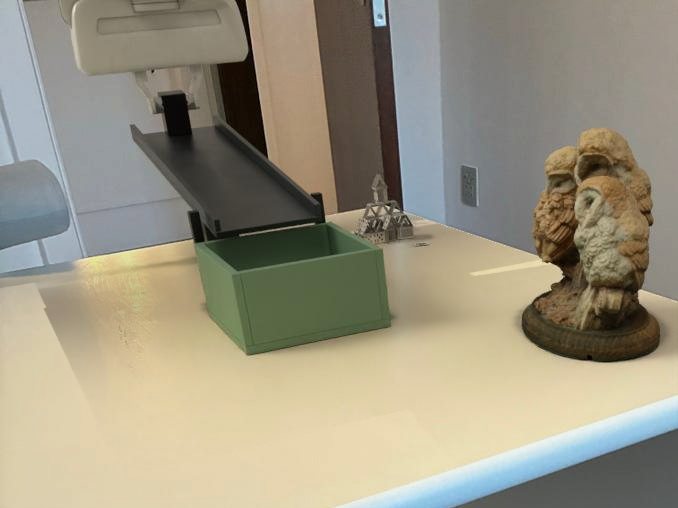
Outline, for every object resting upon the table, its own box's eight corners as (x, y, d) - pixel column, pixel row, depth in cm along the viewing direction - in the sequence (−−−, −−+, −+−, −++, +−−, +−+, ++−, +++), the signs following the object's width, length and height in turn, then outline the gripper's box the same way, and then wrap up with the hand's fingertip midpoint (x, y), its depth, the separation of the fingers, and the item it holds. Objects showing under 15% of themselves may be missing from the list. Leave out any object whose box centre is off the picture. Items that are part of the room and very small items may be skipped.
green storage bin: (247, 355, 89) (231, 274, 85) (209, 316, 100) (193, 243, 96) (391, 326, 94) (382, 248, 90) (340, 292, 105) (330, 221, 101)
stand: (210, 314, 101) (189, 212, 95) (168, 271, 116) (147, 182, 110) (335, 291, 105) (322, 193, 100) (279, 253, 121) (264, 166, 115)
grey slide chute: (216, 238, 94) (207, 183, 91) (132, 140, 119) (122, 94, 116) (322, 221, 98) (316, 168, 94) (219, 130, 123) (212, 85, 120)
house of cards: (365, 255, 118) (357, 188, 113) (341, 242, 124) (333, 177, 120) (431, 244, 121) (426, 178, 116) (404, 231, 127) (399, 168, 123)
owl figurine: (493, 315, 95) (485, 123, 85) (599, 298, 98) (603, 110, 88) (570, 371, 81) (572, 149, 71) (691, 349, 84) (708, 133, 75)
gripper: (56, -19, 104) (93, 123, 112) (239, -31, 111) (261, 104, 119) (49, -18, 109) (85, 118, 117) (225, -30, 116) (247, 100, 124)
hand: (175, 111), depth 118 cm, fingers closed on grey slide chute, 3 cm apart
